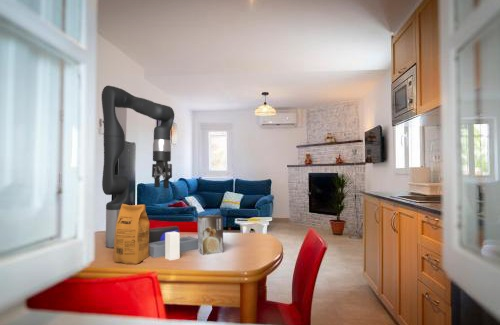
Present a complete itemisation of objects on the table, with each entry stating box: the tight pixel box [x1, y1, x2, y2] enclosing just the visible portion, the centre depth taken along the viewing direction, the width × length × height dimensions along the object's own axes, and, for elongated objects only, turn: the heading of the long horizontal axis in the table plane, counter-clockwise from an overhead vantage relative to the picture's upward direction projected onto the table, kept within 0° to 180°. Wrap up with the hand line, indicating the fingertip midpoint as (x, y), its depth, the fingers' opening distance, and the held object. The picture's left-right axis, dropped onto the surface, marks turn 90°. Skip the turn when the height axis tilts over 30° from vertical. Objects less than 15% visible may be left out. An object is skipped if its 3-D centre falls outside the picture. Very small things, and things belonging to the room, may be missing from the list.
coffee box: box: [197, 214, 224, 256], centre depth 127 cm, size 9×6×16 cm
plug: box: [164, 231, 181, 261], centre depth 118 cm, size 4×4×10 cm
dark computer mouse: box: [149, 225, 180, 243], centre depth 137 cm, size 16×5×9 cm, turn 123°
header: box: [149, 236, 198, 259], centre depth 129 cm, size 9×21×5 cm, turn 132°
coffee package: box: [113, 204, 150, 265], centre depth 119 cm, size 10×12×22 cm
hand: (161, 187), depth 132 cm, fingers open, 8 cm apart
